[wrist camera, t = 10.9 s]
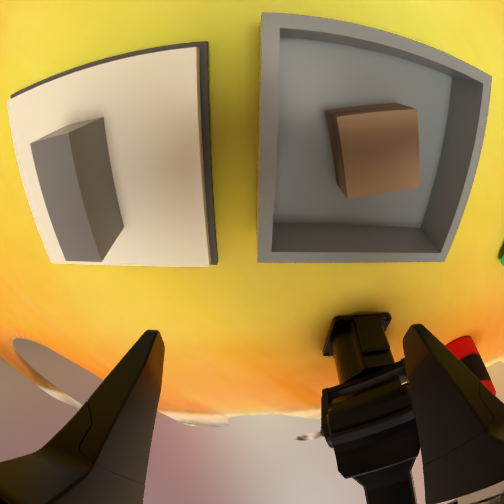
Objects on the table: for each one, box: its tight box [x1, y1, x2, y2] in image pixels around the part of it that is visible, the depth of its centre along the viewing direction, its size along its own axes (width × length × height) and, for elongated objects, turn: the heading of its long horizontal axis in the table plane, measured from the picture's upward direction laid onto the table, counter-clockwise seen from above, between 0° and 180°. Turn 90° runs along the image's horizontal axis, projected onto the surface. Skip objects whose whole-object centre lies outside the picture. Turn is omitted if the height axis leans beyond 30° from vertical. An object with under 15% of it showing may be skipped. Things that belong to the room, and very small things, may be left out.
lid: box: [7, 47, 211, 267], centre depth 15 cm, size 15×15×5 cm
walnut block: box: [325, 103, 420, 200], centre depth 15 cm, size 5×5×2 cm
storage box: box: [257, 13, 492, 263], centre depth 15 cm, size 14×14×4 cm
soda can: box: [446, 337, 496, 395], centre depth 28 cm, size 8×8×12 cm
